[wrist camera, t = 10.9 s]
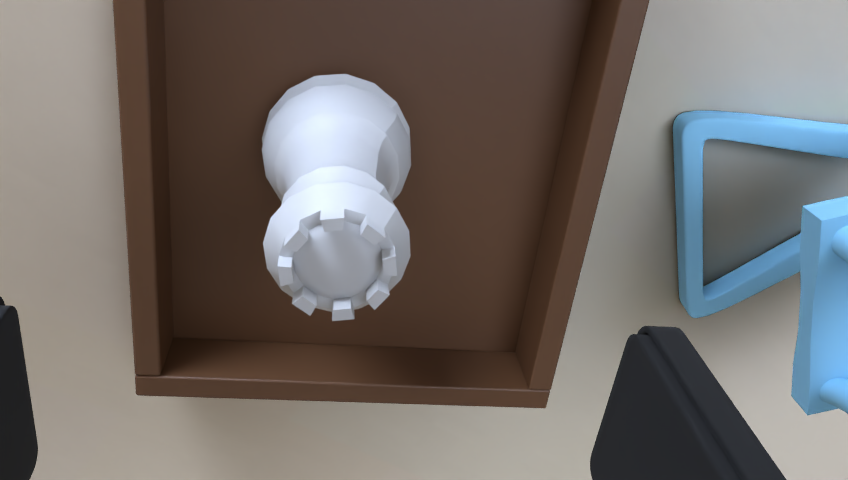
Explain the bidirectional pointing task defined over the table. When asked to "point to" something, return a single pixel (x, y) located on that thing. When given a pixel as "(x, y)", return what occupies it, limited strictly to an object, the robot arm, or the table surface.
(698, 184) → the chair
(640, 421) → the robot arm
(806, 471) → the table surface
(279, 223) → the rook chess piece
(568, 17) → the tray
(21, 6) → the table surface
